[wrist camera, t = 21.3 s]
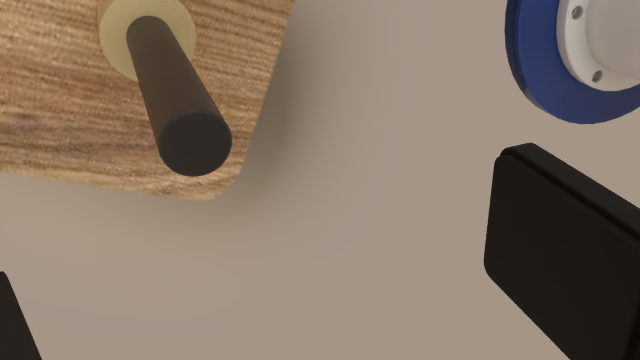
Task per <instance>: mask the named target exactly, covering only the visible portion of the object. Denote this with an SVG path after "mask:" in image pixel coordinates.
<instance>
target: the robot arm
mask: <svg viewBox="0 0 640 360" xmlns="http://www.w3.org/2000/svg"><path fill="white" fill-rule="evenodd" d="M556 36H557V43H558V50H559V53H560V56H561V58H562V61H563V64H564V65H565V67H566V68H567V70H568V71H569V73H570V74H571V75H572V76H573V77H575V78H576V79H577V80H578V81H579V82H581V83H583V84H586V85H588V86H590V87H592V88H595V89H599V90H602V91H619V90H623V89H628V88H631V87H633V86H635V85H638V84H640V0H560V2H559V7H558V13H557V25H556ZM484 267H485V270H486V272H487V274H488V276H489V277H490V278H491V279H492V280H493V281H494V282H495V283H496V284H497V285H498V286H499V287H500V288H501V289H502V290H503V291H504V292H505V293H506V294H507V296H508V297H509V298H510V299H511V300H512V301H513V302H514V303H515V304H516V305H517V306H518V307H519V308H520V309H521V310H522V311H523V312H524V313H525V314H526V315H527V316H528V317H529V318H530V319H531V320H532V321H533V322H534V323H535V324H536V325H537V326H538V327H539V328H540V329H541V330H542V331H543V332H544V333H545V334H546V335H547V336H548V337H549V338H550V339H551V341H553V343H555V345H556V346H558V348H559V349H560V350H561V351H562V352H564V354H565V355H566V356H567V357H568V358H569V359H570V360H640V209H639V208H638V207H636V206H635V205H633V204H632V203H630V202H628V201H627V200H625V199H623V198H622V197H620V196H619V195H617V194H615V193H614V192H612V191H610V190H608V189H607V188H605V187H604V186H602V185H601V184H599V183H597V182H596V181H594V180H593V179H591V178H589V177H588V176H586V175H584V174H583V173H581V172H580V171H578V170H576V169H575V168H573V167H571V166H570V165H568V164H567V163H565V162H563V161H562V160H560V159H558V158H557V157H555V156H554V155H552V154H550V153H549V152H547V151H545V150H544V149H542V148H541V147H539V146H537V145H536V144H533V143H526V144H521V145H517V146H512V147H509V148H505V149H504V150H503V151H502V152H501V154H500V156H499V157H498V158H497V159H496V161H495V164H494V171H493V180H492V189H491V198H490V208H489V217H488V225H487V234H486V244H485V253H484ZM0 360H42V359H41V356H40V354H39V352H38V349H37V347H36V344H35V342H34V340H33V337H32V335H31V332H30V330H29V327H28V325H27V323H26V320H25V318H24V315H23V313H22V311H21V308H20V306H19V303H18V301H17V299H16V296H15V294H14V292H13V289H12V287H11V284H10V282H9V280H8V277H7V275H6V274H5V273H4V272H3V271H1V272H0Z"/></svg>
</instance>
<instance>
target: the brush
mask: <svg viewBox="0 0 640 360" xmlns="http://www.w3.org/2000/svg"><path fill="white" fill-rule="evenodd" d="M96 15H97V25H98V33H99V40H100V45H101V48H102V51H103V53H104V55H105V57H106V59H107V60H108V62H109V63H110V64H111V66H112V67H113V68H114V69H115V70H116V71H118V72H119V73H120V74H122V75H123V76H125V77H127V78H129V79H131V80H134V81H137V82H139V85H140V89H141V92H142V96H143V99H144V102H145V106H146V109H147V113H148V116H149V119H150V123H151V126H152V130H153V133H154V136H155V140H156V143H157V146H158V150H159V153H160V156H161V158H162V160H163V162H164V163H165V164H166V165H167V167H169V168H170V169H171V170H173V171H174V172H176V173H178V174H181V175H184V176H191V177H195V176H203V175H206V174H209V173H211V172H213V171H215V170H216V169H218V168H219V167H220V166H221V165H222V164H223V163H224V162H225V160H226V159H227V157H228V155H229V153H230V150H231V146H232V136H231V132H230V129H229V127H228V125H227V123H226V122H225V120H224V118H223V117H222V115H221V113H220V112H219V110H218V108H217V107H216V105H215V103H214V101H213V100H212V98H211V96H210V95H209V93H208V91H207V90H206V88H205V86H204V85H203V83H202V81H201V80H200V78H199V76H198V75H197V73H196V71H195V70H194V68H193V66H192V64H191V63H190V61H191V60H192V58H193V55H194V53H195V49H196V44H197V33H196V27H195V24H194V21H193V19H192V17H191V15H190V13H189V12H188V10H187V9H186V8H185V6H184V5H183V4H182V2H181V1H180V0H99V2H98V6H97V13H96Z"/></svg>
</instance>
